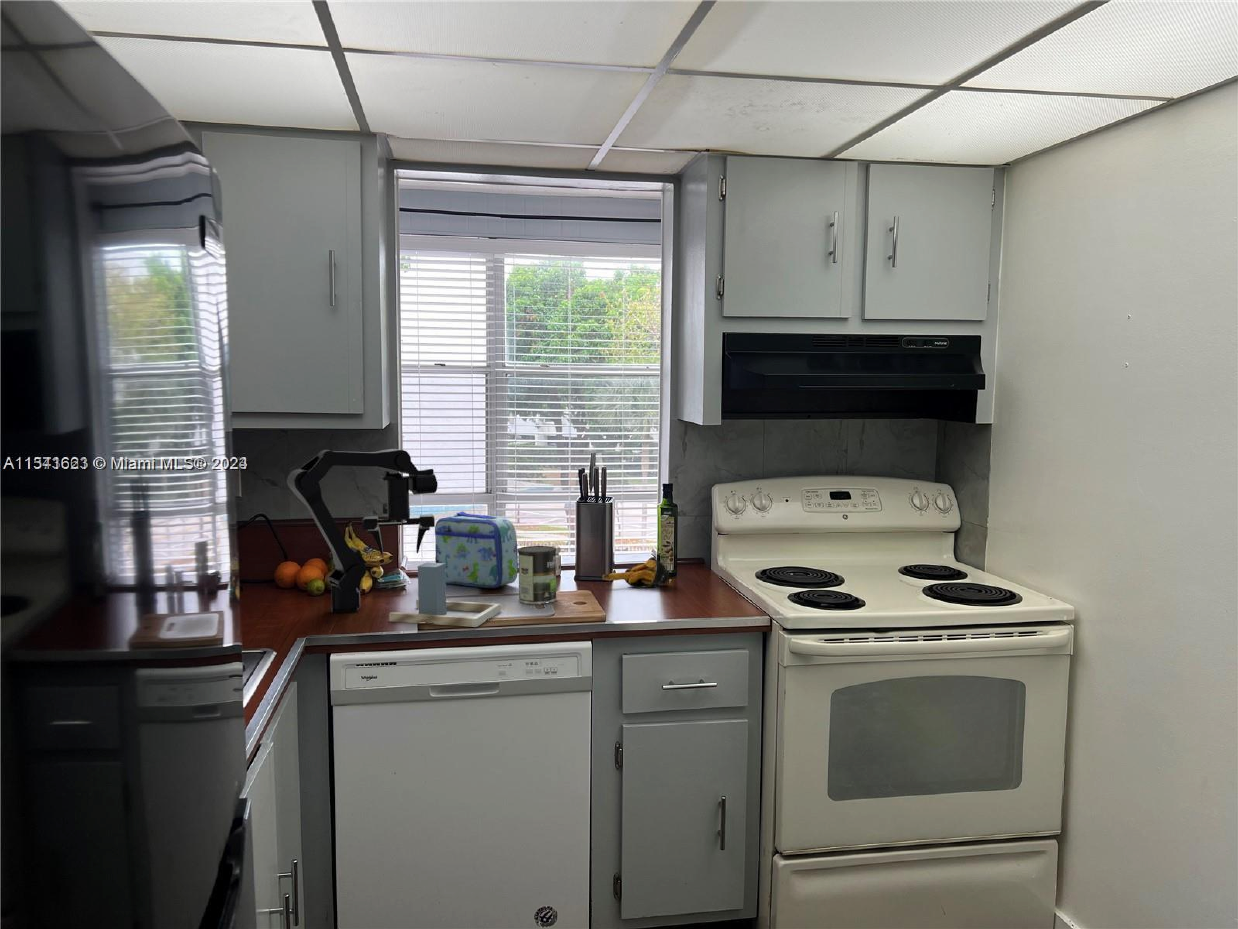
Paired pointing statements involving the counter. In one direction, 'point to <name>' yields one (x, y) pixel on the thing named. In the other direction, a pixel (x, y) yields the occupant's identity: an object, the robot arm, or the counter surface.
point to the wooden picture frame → (485, 608)
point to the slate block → (432, 589)
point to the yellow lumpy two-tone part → (642, 574)
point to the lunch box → (477, 550)
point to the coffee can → (537, 574)
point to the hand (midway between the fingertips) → (399, 553)
